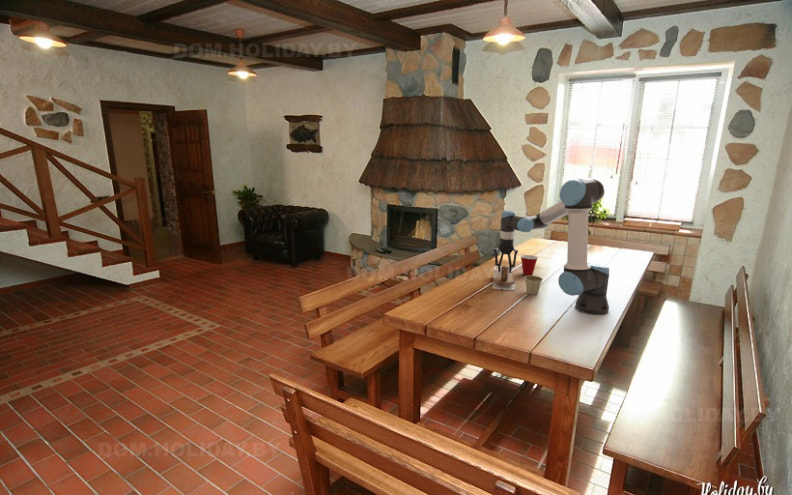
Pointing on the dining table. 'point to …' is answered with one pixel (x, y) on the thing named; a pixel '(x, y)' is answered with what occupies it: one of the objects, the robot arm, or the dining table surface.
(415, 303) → the dining table surface
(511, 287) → the mat
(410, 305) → the dining table surface
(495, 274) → the bowl
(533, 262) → the plastic cup
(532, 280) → the flower pot
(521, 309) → the dining table surface
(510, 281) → the lid
